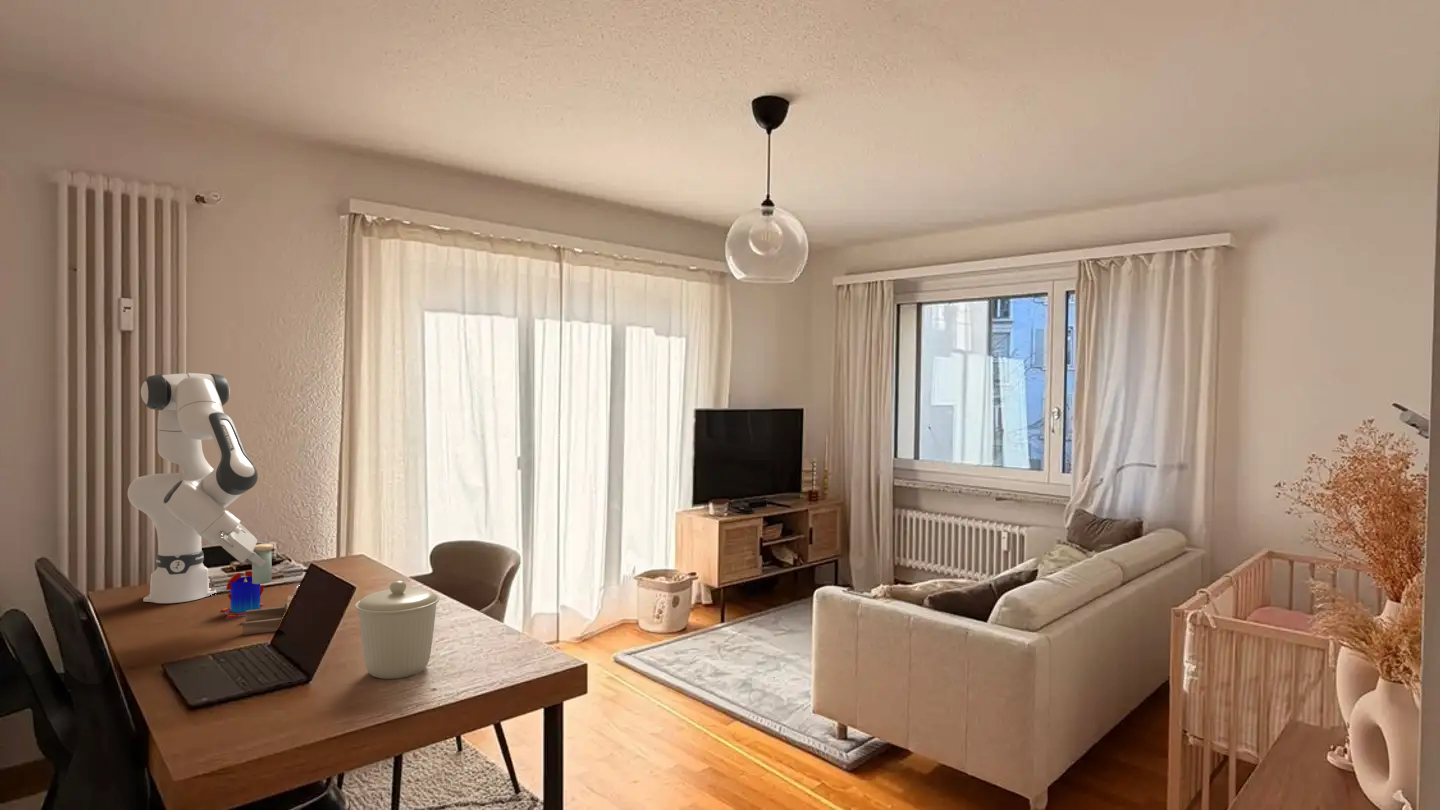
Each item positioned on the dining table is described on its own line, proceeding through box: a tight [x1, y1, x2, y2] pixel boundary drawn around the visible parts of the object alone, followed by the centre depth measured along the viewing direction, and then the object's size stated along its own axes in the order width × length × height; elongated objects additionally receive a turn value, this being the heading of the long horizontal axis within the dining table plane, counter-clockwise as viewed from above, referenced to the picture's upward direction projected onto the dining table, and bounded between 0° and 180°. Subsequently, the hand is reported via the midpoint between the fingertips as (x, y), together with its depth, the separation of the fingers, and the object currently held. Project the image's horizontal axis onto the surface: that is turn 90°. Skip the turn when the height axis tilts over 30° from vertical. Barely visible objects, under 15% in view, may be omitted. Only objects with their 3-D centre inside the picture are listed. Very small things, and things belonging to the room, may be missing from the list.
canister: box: [354, 580, 440, 680], centre depth 180 cm, size 18×18×21 cm
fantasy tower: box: [219, 570, 265, 620], centre depth 227 cm, size 12×12×12 cm
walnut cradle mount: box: [242, 593, 294, 636], centre depth 215 cm, size 16×12×6 cm
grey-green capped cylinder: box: [251, 543, 274, 585], centre depth 213 cm, size 5×5×10 cm
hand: (264, 562), depth 214 cm, fingers closed on grey-green capped cylinder, 5 cm apart
